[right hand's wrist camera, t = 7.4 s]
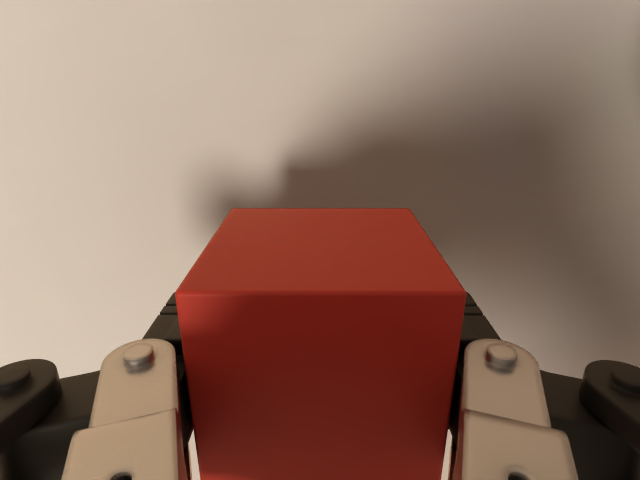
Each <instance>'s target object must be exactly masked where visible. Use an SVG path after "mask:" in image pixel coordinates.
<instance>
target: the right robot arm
mask: <svg viewBox="0 0 640 480" xmlns="http://www.w3.org/2000/svg"><path fill="white" fill-rule="evenodd" d="M175 293H176V292H175ZM175 293H173V294H172V296H171V297H170V299H169V300H168V302H167V303H166V306H164V308H163V309H162V311H161V312H160V315H158V316H157V318H156V319H155V321H154V322H153V324H152V325H151V327H150V328H149V330H148V331H147V333H146V334H145V336H144V337H143V339H142V340H137V341H133V342H130V343H127V344H125V345H122V346H120V347H118V348H117V349H115V350H114V351H112V352H111V353H110V354H109V355H108V356H107V357H106V358H105V359H104V361H103V363H102V365H101V370H99V371H96V372H92V373H87V374H82V375H77V376H72V377H67V378H62V379H59V375H58V372H57V368H56V366H55V364H54V363H52V362H50V361H48V360H43V359H30V360H23V361H18V362H15V363H11V364H8V365H5V366H3V367H1V368H0V480H192V473H191V460H190V449H189V443H188V442H189V440H190V437H191V434H192V431H193V421H192V413H191V406H190V399H189V392H188V384H187V377H186V370H185V363H184V355H183V348H182V341H181V334H180V326H179V319H178V312H177V305H176V297H175ZM466 294H467V295H466V302H465V309H464V316H463V323H462V330H461V338H460V345H459V352H458V359H457V366H456V374H455V381H454V388H453V395H452V402H451V410H450V417H449V424H448V429H450V431H451V434H452V443H451V449H450V460H449V473H448V480H640V368H638V367H636V366H633V365H630V364H626V363H623V362H618V361H610V360H600V361H594V362H592V363H590V364H588V365H587V366H586V368H585V371H584V375H583V379H578V378H573V377H568V376H563V375H558V374H553V373H549V372H545V371H542V370H539V365H538V362H537V361H536V359H535V358H534V357H533V356H532V354H530V353H529V352H528V351H526V350H525V349H523V348H522V347H520V346H518V345H515V344H513V343H510V342H507V341H503V340H501V339H500V337H499V336H498V335H497V333H496V332H495V330H494V329H493V327H492V326H491V324H490V323H489V321H488V320H487V319H486V317H485V316H483V313H482V311H481V310H480V308H479V307H477V304H476V303H475V301H474V300H473V298H472V297H471V295H470V294H469V293H467V292H466Z"/></svg>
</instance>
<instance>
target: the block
mask: <svg viewBox="0 0 640 480" xmlns="http://www.w3.org/2000/svg"><path fill="white" fill-rule="evenodd" d="M466 295H467V294H466V291H465V290H464V288H463V287H462V285H461V284H460V282H459V281H458V279H457V278H456V276H455V275H454V274H453V272H452V271H451V269H450V268H449V266H448V265H447V263H446V262H445V260H444V259H443V257H442V256H441V254H440V253H439V251H438V250H437V249H436V247H435V246H434V244H433V243H432V241H431V240H430V238H429V237H428V235H427V234H426V232H425V231H424V229H423V228H422V227H421V225H420V224H419V222H418V221H417V219H416V218H415V216H414V215H413V213H412V212H411V210H410V209H408V208H233V209H231V211H230V212H229V214H228V215H227V217H226V218H225V220H224V221H223V223H222V224H221V226H220V227H219V228H218V230H217V231H216V233H215V234H214V236H213V237H212V239H211V240H210V242H209V243H208V245H207V246H206V248H205V249H204V251H203V252H202V254H201V255H200V257H199V258H198V259H197V261H196V262H195V264H194V265H193V267H192V268H191V270H190V271H189V273H188V274H187V276H186V277H185V279H184V280H183V282H182V283H181V285H180V286H179V287H178V289H177V290H176V293H175V297H176V305H177V312H178V319H179V326H180V334H181V341H182V348H183V355H184V363H185V370H186V377H187V384H188V392H189V399H190V406H191V413H192V421H193V428H194V435H195V442H196V450H197V457H198V464H199V472H200V479H201V480H441V474H442V467H443V460H444V453H445V446H446V438H447V431H448V424H449V417H450V410H451V402H452V395H453V388H454V381H455V374H456V366H457V359H458V352H459V345H460V338H461V330H462V323H463V316H464V309H465V302H466Z"/></svg>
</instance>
